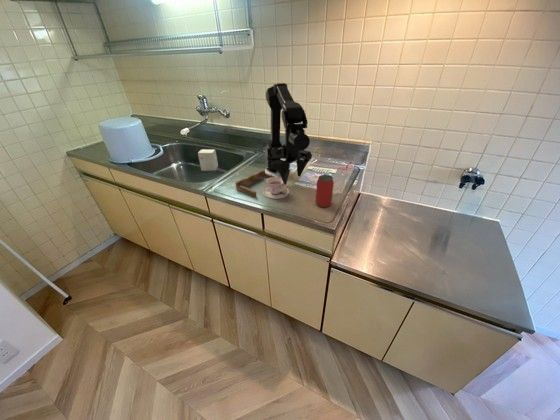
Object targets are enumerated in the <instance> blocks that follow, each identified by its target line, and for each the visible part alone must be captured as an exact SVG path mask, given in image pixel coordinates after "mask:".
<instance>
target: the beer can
mask: <svg viewBox="0 0 560 420" xmlns="http://www.w3.org/2000/svg"><path fill="white" fill-rule="evenodd" d="M318 176H319V177H318V178H317V180H316V187H315V188H316V190H315V204H316V205H317V206H318V207H320V208H328V207H330V206H331V205H332V201H333V192H334V186H335V185H334V184H335V183H334V177H332V175H328V174H322V175H318Z"/></svg>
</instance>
